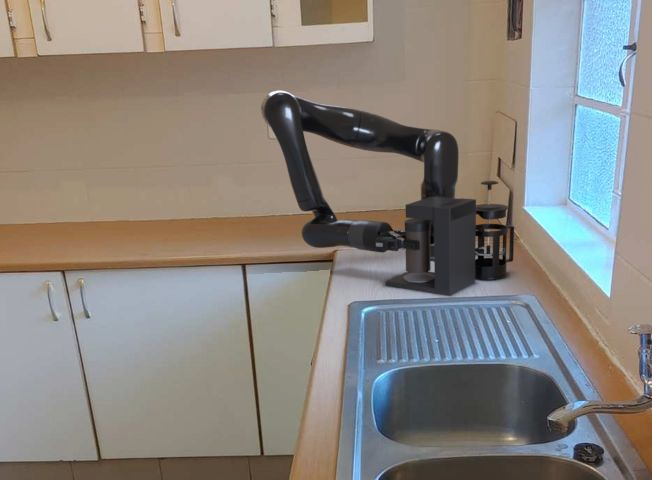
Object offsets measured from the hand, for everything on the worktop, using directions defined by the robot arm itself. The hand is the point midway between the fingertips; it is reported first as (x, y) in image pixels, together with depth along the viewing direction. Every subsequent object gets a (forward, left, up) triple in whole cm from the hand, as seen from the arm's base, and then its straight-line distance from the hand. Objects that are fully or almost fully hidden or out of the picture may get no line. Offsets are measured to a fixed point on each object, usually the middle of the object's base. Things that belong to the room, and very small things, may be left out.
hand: (426, 242), depth 179 cm
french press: (-11, +13, -10) cm, 20 cm away
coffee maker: (0, +1, -10) cm, 10 cm away
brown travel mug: (-1, -2, -7) cm, 7 cm away
